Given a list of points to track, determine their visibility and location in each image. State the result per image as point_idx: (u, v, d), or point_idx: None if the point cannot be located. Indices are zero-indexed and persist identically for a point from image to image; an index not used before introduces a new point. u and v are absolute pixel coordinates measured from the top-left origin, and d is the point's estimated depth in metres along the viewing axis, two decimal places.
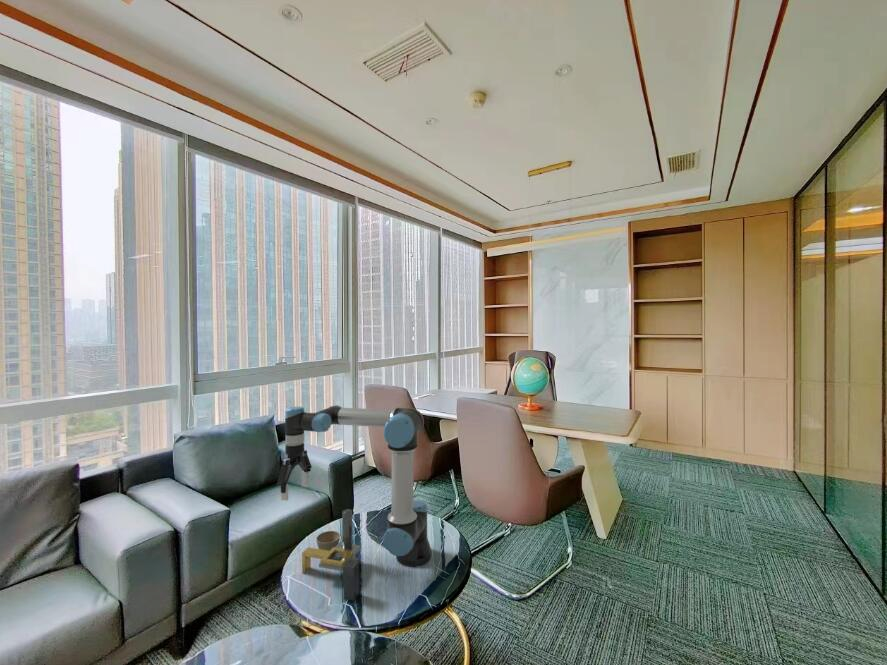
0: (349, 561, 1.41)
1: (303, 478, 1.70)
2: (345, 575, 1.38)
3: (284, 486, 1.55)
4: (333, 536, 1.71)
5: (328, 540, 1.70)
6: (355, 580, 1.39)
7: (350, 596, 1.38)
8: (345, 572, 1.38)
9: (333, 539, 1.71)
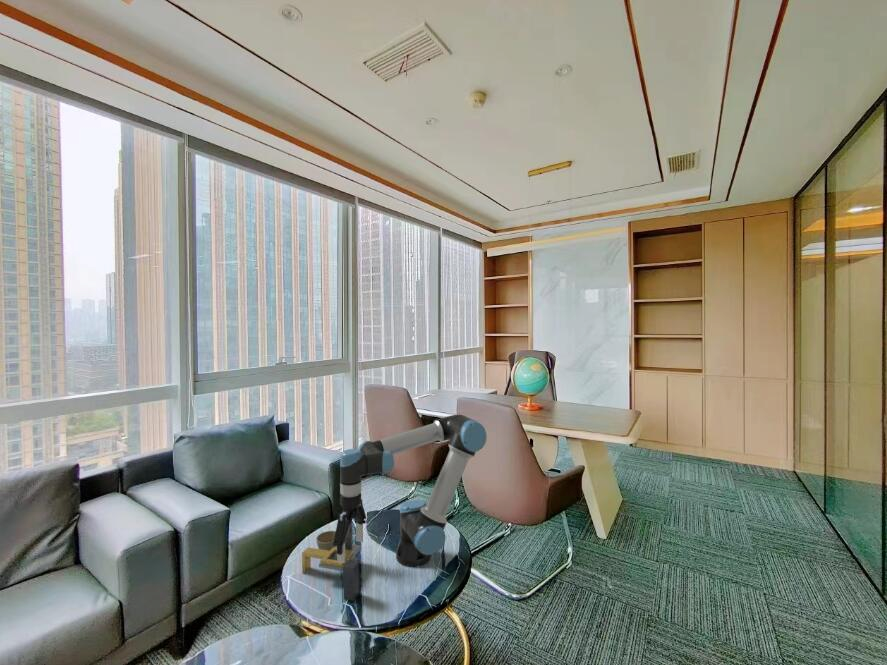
0: (349, 561, 1.41)
1: (357, 531, 1.46)
2: (345, 575, 1.38)
3: (341, 546, 1.32)
4: (333, 536, 1.71)
5: (328, 540, 1.70)
6: (355, 580, 1.39)
7: (350, 596, 1.38)
8: (345, 572, 1.38)
9: (333, 539, 1.71)
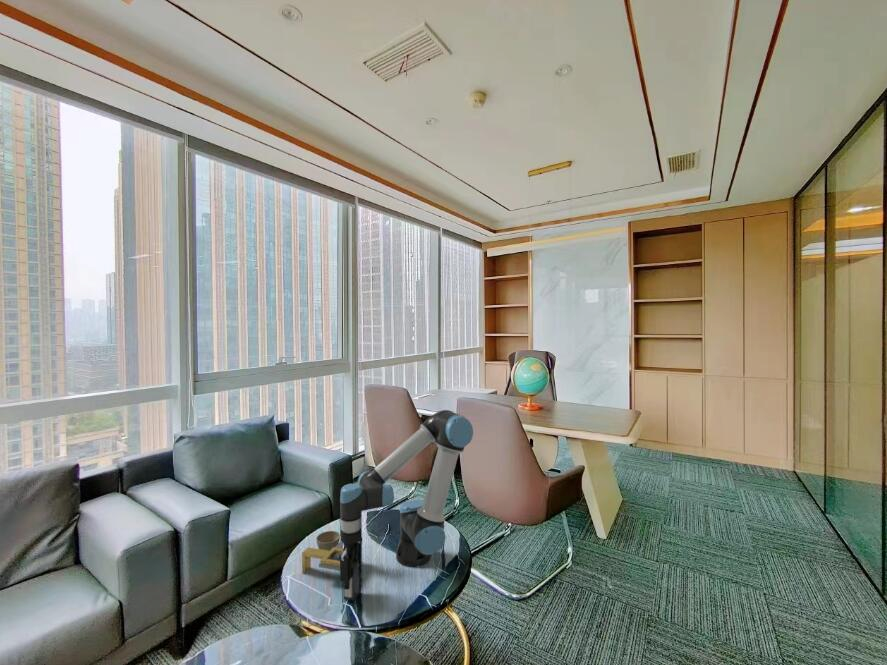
0: None
1: None
2: None
3: (348, 581, 1.36)
4: (333, 536, 1.71)
5: (328, 540, 1.70)
6: (355, 580, 1.39)
7: None
8: None
9: (333, 539, 1.71)
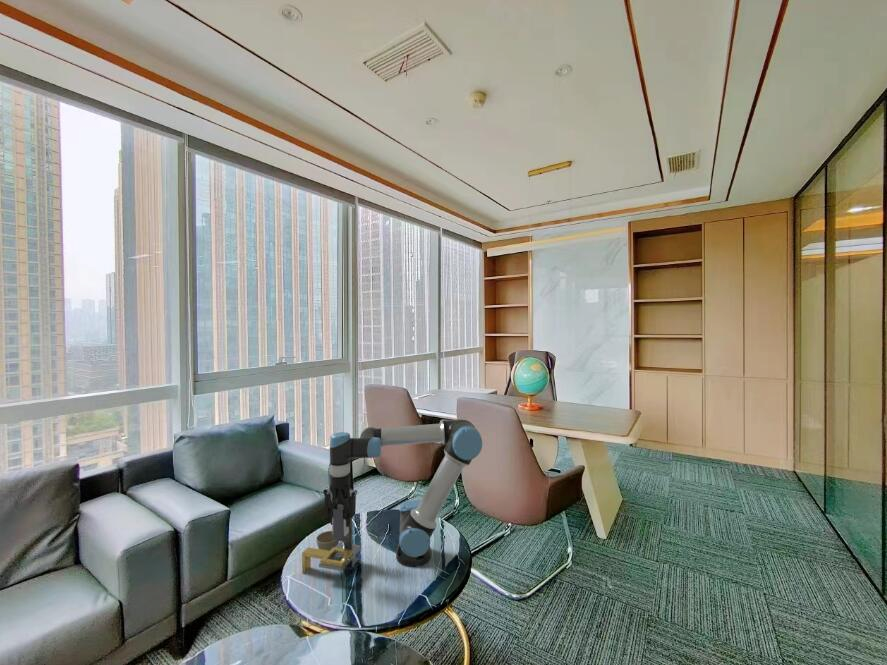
0: None
1: None
2: None
3: (331, 518, 1.48)
4: None
5: (328, 540, 1.70)
6: (336, 523, 1.46)
7: None
8: None
9: None
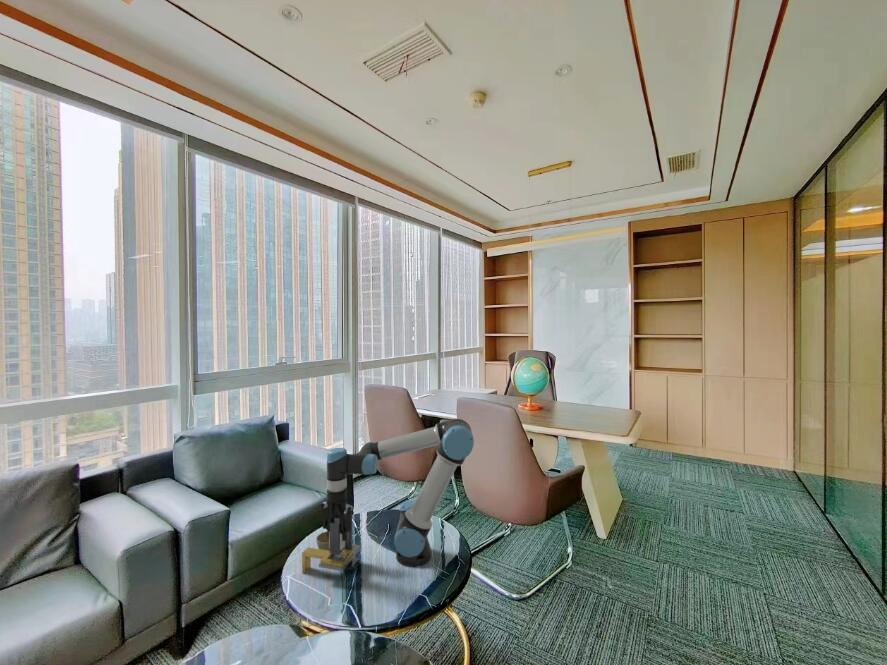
0: None
1: None
2: None
3: (328, 531, 1.51)
4: None
5: (328, 540, 1.70)
6: (332, 537, 1.49)
7: None
8: None
9: None
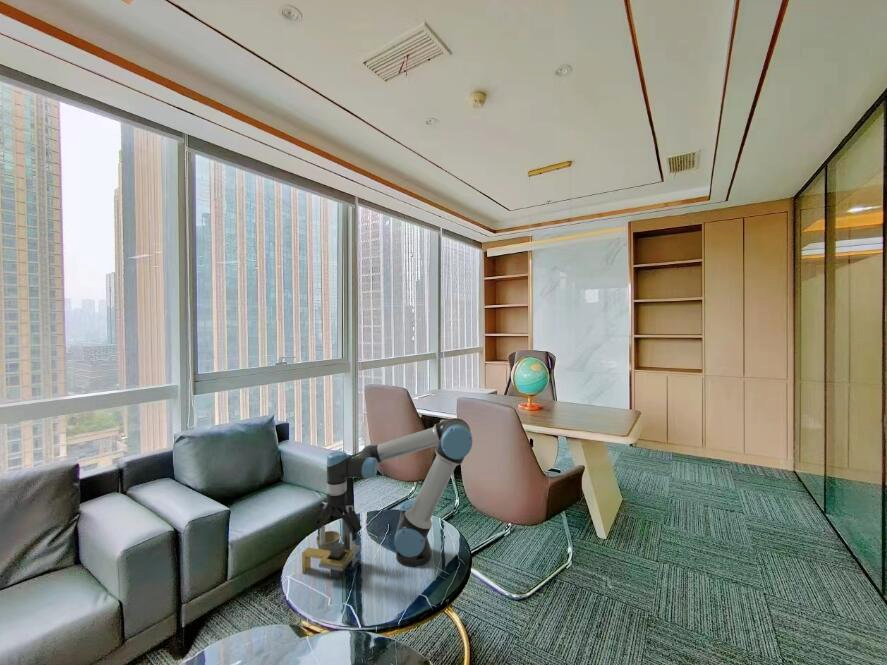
0: (341, 544, 1.52)
1: None
2: None
3: (318, 528, 1.52)
4: (333, 536, 1.71)
5: (328, 540, 1.70)
6: None
7: None
8: None
9: (333, 539, 1.71)
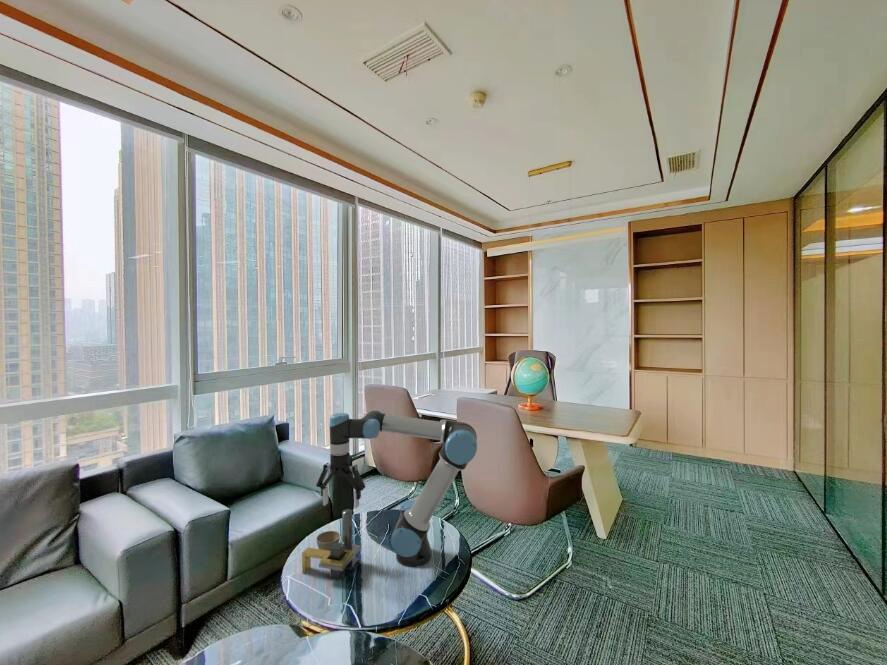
0: (341, 544, 1.52)
1: None
2: None
3: (322, 489, 1.54)
4: (333, 536, 1.71)
5: (328, 540, 1.70)
6: None
7: None
8: None
9: (333, 539, 1.71)
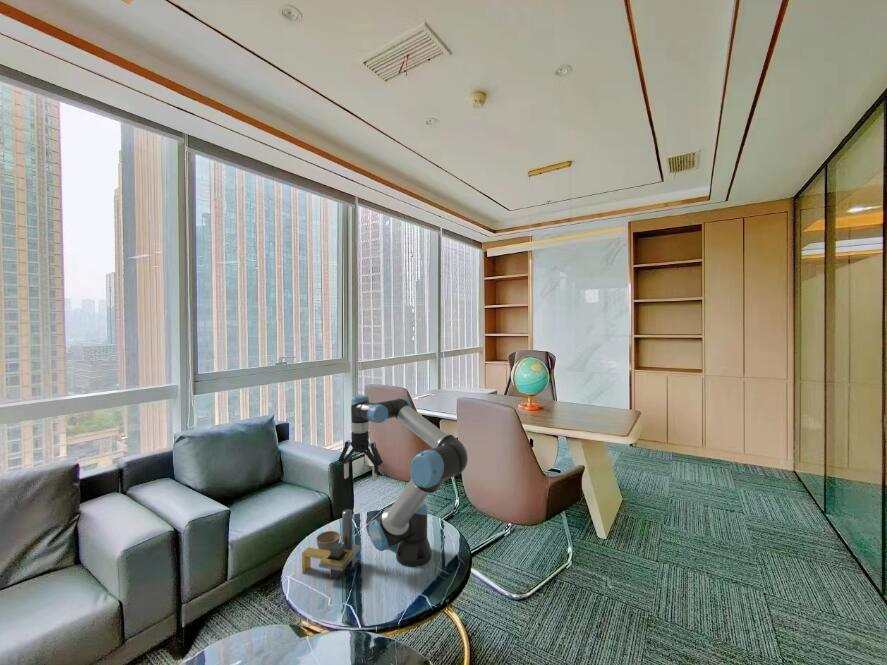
0: (341, 544, 1.52)
1: None
2: None
3: (343, 464, 1.69)
4: (333, 536, 1.71)
5: (328, 540, 1.70)
6: None
7: None
8: None
9: (333, 539, 1.71)
